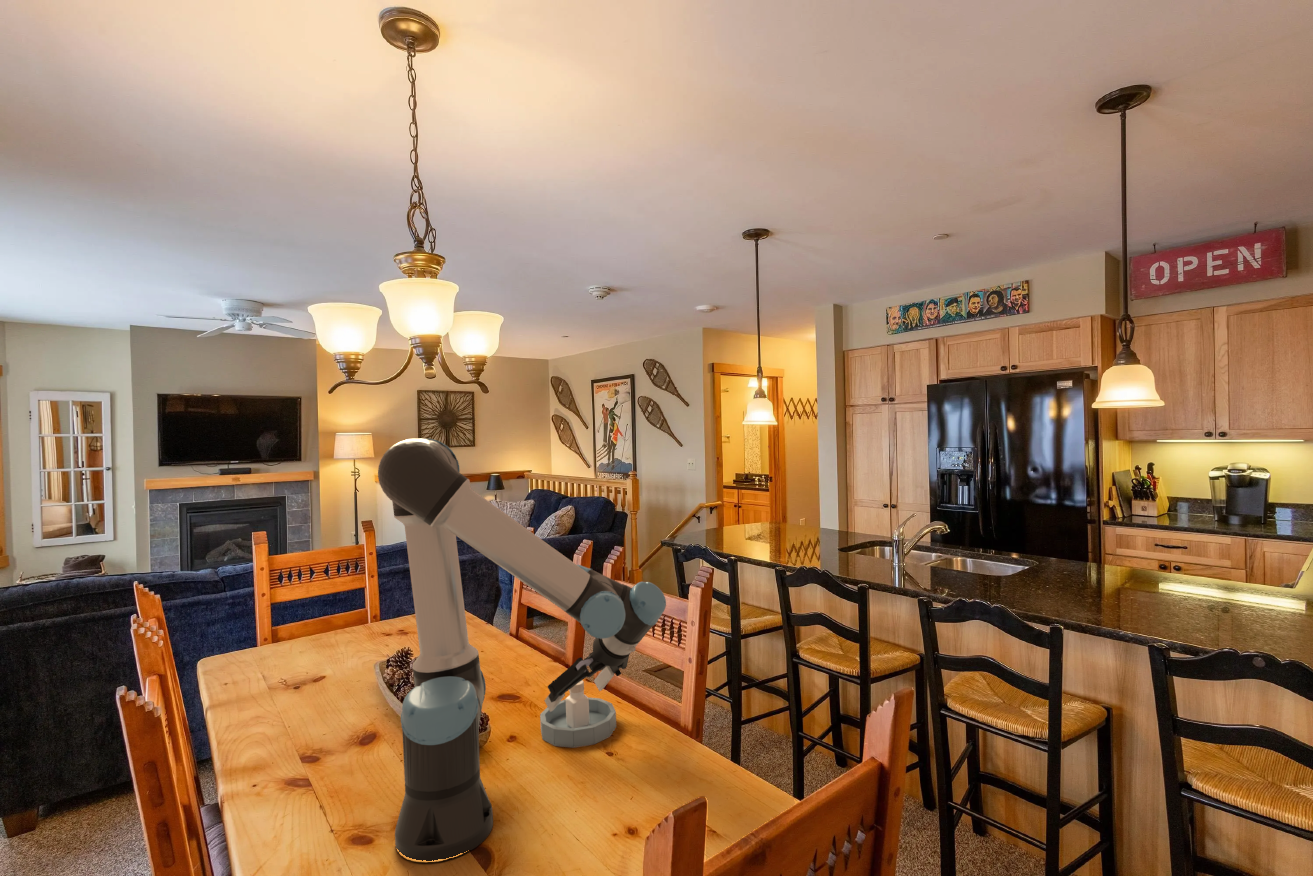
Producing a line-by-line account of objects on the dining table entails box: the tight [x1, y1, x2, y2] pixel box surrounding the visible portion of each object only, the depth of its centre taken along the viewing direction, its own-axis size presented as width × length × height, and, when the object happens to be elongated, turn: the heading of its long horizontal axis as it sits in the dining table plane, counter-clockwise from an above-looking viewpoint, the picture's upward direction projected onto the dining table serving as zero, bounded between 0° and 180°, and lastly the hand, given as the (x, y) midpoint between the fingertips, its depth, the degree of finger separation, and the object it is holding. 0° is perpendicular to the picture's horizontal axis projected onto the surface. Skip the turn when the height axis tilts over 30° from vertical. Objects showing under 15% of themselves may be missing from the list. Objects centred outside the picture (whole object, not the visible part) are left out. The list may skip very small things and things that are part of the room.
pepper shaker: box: [565, 679, 590, 728], centre depth 137 cm, size 4×4×10 cm
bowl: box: [539, 697, 617, 749], centre depth 137 cm, size 16×16×4 cm
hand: (574, 695), depth 138 cm, fingers open, 13 cm apart
